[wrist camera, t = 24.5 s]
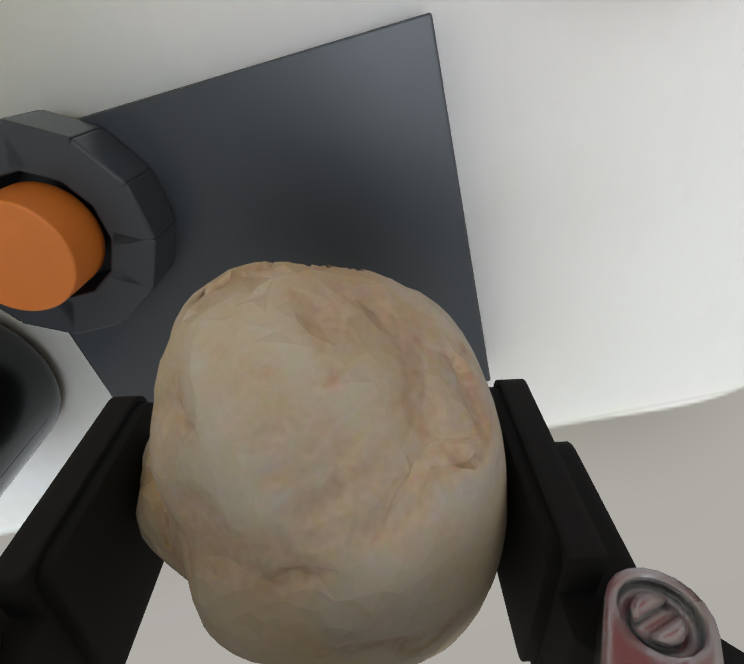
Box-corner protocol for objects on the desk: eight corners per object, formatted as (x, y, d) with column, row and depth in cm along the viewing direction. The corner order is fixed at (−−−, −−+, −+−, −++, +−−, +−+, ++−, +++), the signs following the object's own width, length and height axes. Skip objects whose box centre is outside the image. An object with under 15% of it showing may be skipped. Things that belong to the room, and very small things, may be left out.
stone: (469, 337, 13) (350, 110, 6) (596, 591, 10) (636, 695, 3) (257, 439, 14) (-36, 343, 7) (312, 693, 11) (-106, 929, 4)
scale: (150, 434, 21) (121, 490, 18) (-47, 137, 15) (-133, 159, 12) (484, 362, 19) (502, 412, 17) (423, -6, 13) (438, -17, 10)
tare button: (34, 293, 15) (-3, 323, 13) (-33, 196, 13) (-84, 217, 12) (126, 270, 14) (98, 297, 13) (68, 167, 13) (29, 184, 11)
